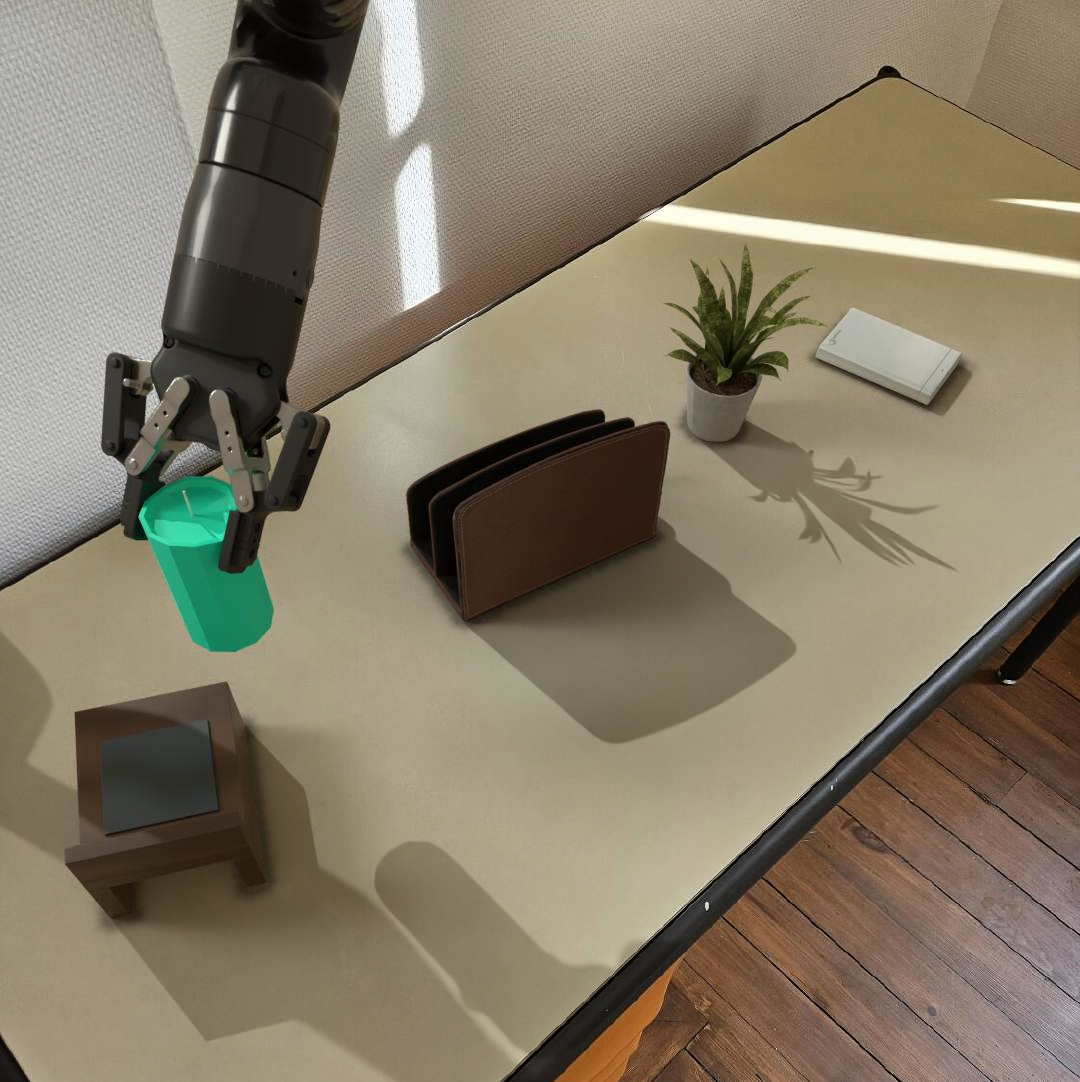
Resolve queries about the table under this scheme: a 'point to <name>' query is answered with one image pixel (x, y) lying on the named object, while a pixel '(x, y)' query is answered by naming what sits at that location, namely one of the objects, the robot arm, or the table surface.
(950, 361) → the hard drive
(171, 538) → the candle
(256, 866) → the wooden side table
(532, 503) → the letter holder
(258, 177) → the robot arm
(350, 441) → the table surface
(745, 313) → the house plant
